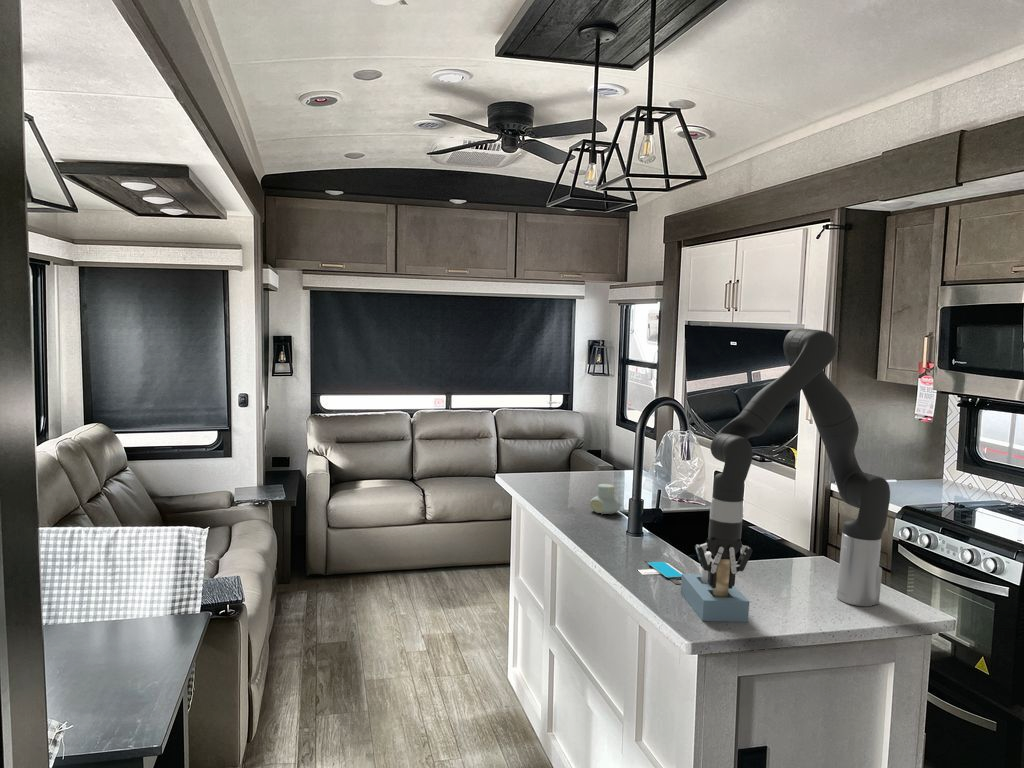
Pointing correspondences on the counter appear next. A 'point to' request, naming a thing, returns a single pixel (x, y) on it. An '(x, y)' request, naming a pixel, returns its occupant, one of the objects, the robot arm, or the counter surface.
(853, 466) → the robot arm
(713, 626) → the counter surface
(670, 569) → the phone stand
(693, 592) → the bore block
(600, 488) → the pale green pipe fitting
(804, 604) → the counter surface
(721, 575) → the beech pin
